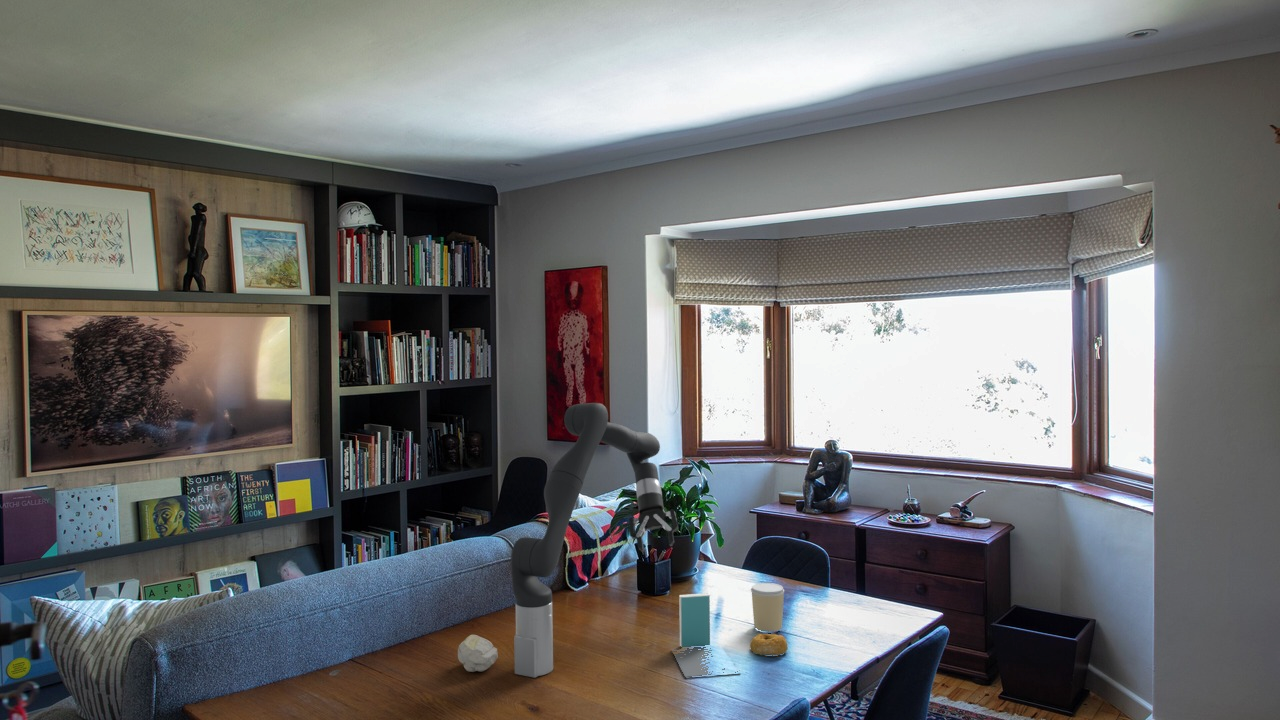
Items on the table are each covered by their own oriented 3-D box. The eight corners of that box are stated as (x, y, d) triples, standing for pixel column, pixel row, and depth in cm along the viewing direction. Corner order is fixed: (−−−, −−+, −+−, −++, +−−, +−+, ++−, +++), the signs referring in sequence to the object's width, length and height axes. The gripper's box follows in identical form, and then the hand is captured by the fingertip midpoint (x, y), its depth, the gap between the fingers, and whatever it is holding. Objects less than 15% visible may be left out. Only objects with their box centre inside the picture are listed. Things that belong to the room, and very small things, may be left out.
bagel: (789, 644, 219) (789, 627, 219) (785, 661, 208) (785, 642, 208) (752, 642, 221) (752, 625, 221) (747, 658, 211) (747, 640, 211)
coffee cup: (783, 623, 235) (782, 582, 235) (785, 635, 226) (785, 592, 225) (750, 622, 236) (750, 582, 236) (752, 634, 227) (751, 591, 226)
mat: (671, 651, 215) (670, 649, 215) (721, 647, 217) (721, 645, 217) (685, 678, 197) (685, 676, 197) (740, 674, 199) (740, 672, 199)
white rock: (494, 657, 213) (456, 666, 209) (491, 626, 213) (452, 634, 210) (503, 671, 201) (462, 680, 198) (499, 637, 202) (459, 646, 198)
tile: (679, 646, 218) (679, 595, 218) (708, 644, 220) (708, 593, 219) (681, 649, 216) (680, 597, 216) (710, 647, 218) (709, 595, 217)
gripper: (623, 496, 240) (629, 548, 231) (670, 487, 238) (678, 538, 229) (629, 506, 246) (635, 556, 237) (674, 496, 245) (682, 547, 236)
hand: (656, 548), depth 233 cm, fingers open, 8 cm apart
